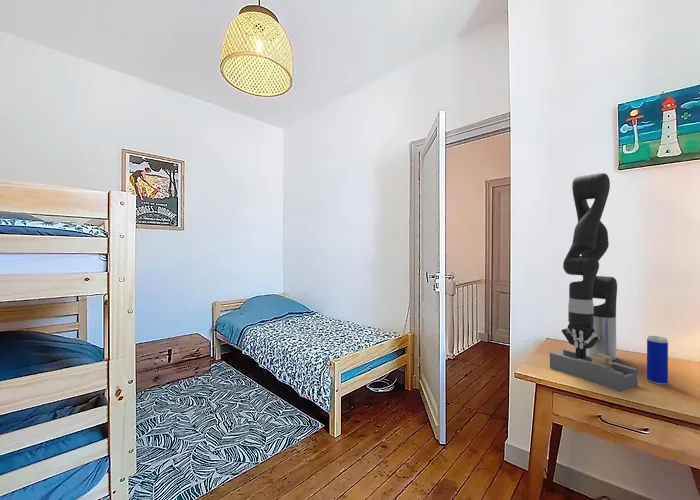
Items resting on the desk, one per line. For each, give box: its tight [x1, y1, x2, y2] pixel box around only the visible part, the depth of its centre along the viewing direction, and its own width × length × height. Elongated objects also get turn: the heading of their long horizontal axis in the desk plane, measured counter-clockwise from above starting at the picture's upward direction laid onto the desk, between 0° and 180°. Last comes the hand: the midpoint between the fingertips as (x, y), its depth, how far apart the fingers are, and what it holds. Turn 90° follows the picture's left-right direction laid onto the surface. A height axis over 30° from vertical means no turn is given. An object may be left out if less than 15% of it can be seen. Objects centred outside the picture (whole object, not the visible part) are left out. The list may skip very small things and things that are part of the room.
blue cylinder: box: [646, 335, 669, 386], centre depth 110 cm, size 5×5×15 cm
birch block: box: [592, 354, 612, 369], centre depth 113 cm, size 4×4×4 cm
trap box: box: [549, 348, 639, 392], centre depth 116 cm, size 10×23×6 cm, turn 25°
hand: (580, 358), depth 119 cm, fingers closed
